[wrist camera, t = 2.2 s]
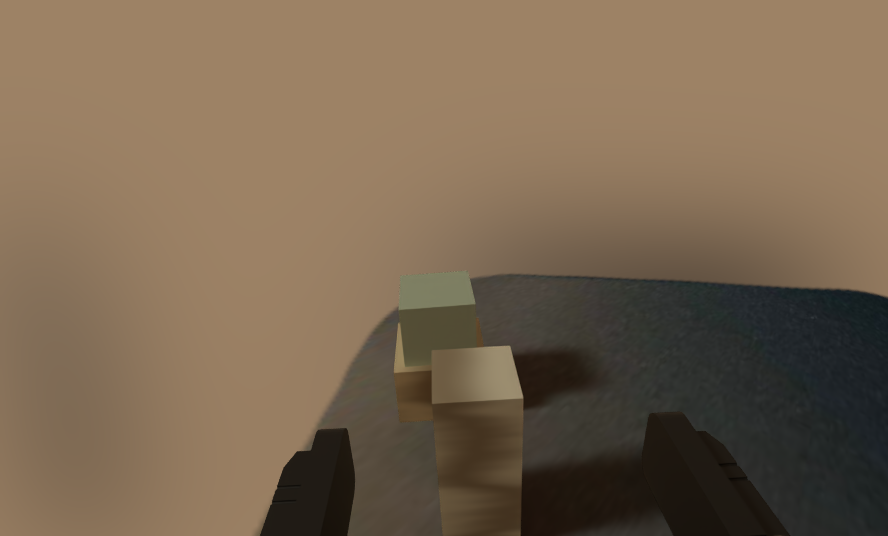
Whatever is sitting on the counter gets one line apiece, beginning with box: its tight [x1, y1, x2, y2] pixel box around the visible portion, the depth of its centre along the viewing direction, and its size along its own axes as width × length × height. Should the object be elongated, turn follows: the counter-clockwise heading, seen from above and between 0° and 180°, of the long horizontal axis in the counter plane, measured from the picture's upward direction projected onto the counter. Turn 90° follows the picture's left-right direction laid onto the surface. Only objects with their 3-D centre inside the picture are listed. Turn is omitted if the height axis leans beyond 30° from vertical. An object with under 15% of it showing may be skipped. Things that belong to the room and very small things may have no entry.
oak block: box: [394, 318, 484, 422], centre depth 41 cm, size 7×7×5 cm
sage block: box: [399, 271, 477, 367], centre depth 38 cm, size 6×6×5 cm
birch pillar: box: [432, 346, 523, 536], centre depth 28 cm, size 4×4×11 cm
